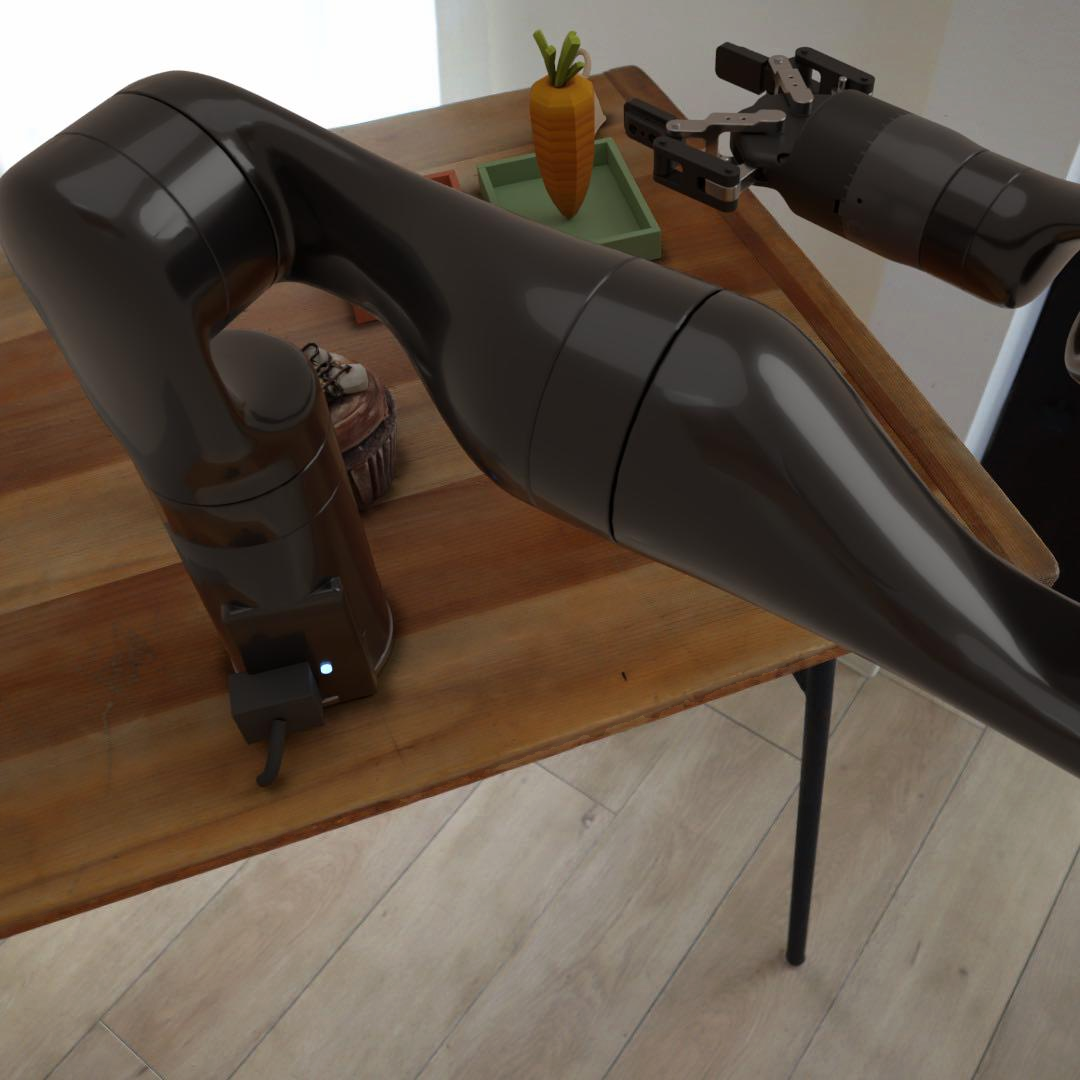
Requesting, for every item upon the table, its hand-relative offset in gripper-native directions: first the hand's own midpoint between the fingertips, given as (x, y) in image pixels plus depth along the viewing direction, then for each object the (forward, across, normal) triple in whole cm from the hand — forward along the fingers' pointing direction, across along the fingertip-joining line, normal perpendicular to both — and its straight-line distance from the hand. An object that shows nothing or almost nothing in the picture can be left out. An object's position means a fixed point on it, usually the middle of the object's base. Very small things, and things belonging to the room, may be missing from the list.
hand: (673, 85), depth 74 cm
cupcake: (+3, +29, +16) cm, 33 cm away
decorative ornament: (+19, -10, +16) cm, 27 cm away
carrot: (+11, 0, +15) cm, 19 cm away
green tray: (+11, 0, +16) cm, 19 cm away
